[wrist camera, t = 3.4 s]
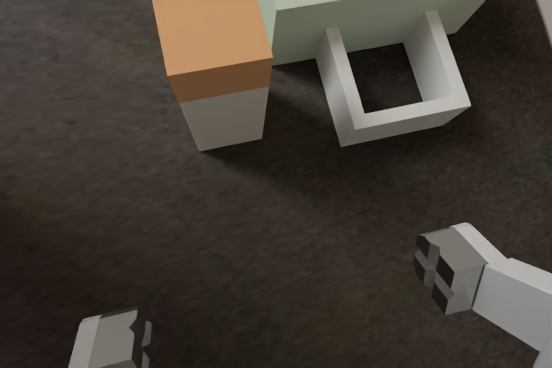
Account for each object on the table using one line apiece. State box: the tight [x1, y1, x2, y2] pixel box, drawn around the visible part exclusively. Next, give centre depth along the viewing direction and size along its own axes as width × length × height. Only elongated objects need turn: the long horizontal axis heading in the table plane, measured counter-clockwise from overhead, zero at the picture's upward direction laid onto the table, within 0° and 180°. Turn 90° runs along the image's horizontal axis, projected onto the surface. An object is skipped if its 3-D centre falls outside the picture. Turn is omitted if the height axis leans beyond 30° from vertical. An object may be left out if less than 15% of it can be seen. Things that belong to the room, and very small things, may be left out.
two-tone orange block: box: [152, 0, 273, 151], centre depth 23 cm, size 5×5×12 cm
